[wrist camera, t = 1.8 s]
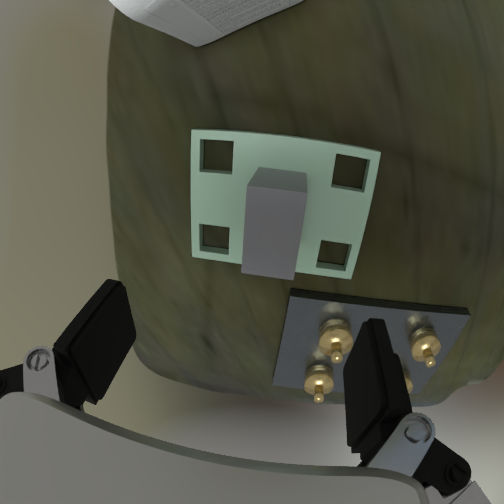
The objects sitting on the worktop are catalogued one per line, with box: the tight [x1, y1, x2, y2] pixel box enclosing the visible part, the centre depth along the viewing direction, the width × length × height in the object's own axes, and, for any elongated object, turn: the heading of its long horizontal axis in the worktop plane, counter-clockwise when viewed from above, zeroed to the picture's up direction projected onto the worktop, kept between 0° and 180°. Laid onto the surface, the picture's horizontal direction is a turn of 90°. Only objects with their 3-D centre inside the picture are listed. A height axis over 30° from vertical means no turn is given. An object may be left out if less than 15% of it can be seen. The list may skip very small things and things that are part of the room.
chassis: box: [272, 288, 471, 403], centre depth 27 cm, size 20×14×5 cm
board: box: [191, 128, 381, 280], centre depth 21 cm, size 14×11×6 cm
